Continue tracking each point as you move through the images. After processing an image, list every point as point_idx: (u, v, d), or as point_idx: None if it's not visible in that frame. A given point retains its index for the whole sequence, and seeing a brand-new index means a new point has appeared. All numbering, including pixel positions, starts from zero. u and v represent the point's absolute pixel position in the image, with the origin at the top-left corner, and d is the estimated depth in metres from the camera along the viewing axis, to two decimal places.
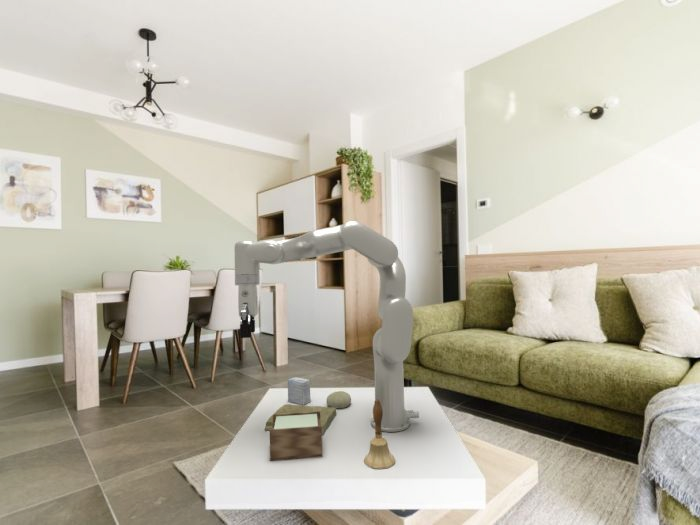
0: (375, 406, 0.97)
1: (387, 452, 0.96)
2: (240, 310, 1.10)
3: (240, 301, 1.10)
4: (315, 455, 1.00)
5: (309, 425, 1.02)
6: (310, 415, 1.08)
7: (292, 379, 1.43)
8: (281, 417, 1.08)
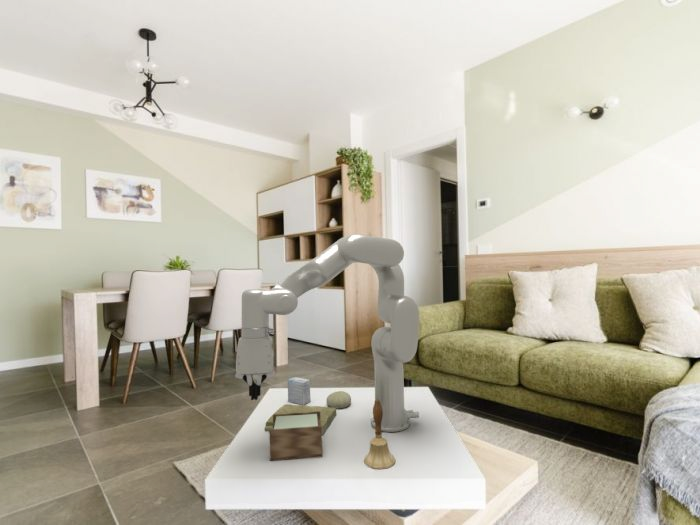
0: (375, 406, 0.97)
1: (387, 452, 0.96)
2: None
3: (272, 355, 1.03)
4: (315, 455, 1.00)
5: (309, 425, 1.02)
6: (310, 415, 1.08)
7: (292, 379, 1.43)
8: (281, 417, 1.08)
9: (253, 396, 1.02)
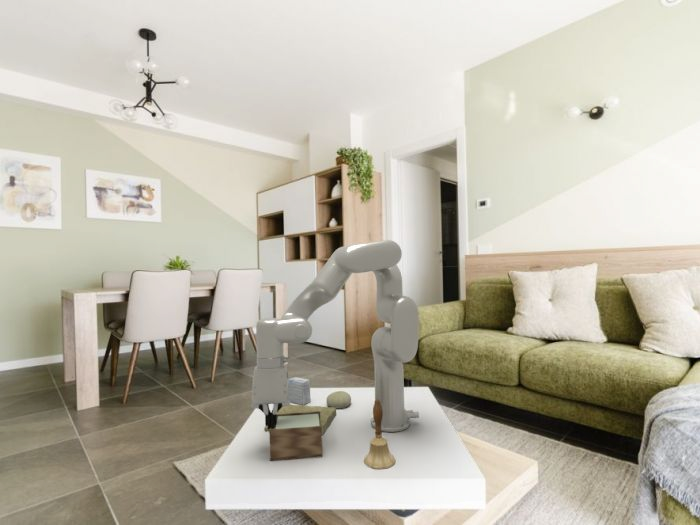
0: (375, 406, 0.97)
1: (387, 452, 0.96)
2: None
3: (287, 384, 1.03)
4: (315, 455, 1.00)
5: (311, 425, 1.02)
6: (312, 415, 1.09)
7: (292, 379, 1.43)
8: (283, 416, 1.08)
9: (269, 425, 1.02)
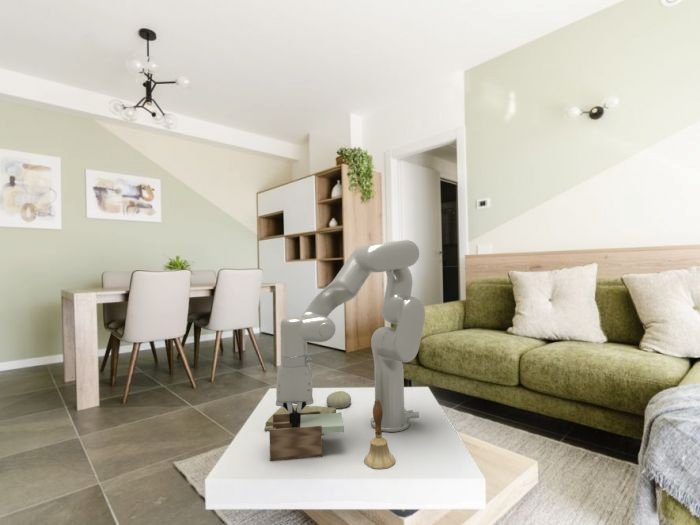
0: (375, 406, 0.97)
1: (387, 452, 0.96)
2: None
3: (311, 383, 1.04)
4: (315, 455, 1.00)
5: (335, 423, 1.02)
6: (335, 414, 1.09)
7: None
8: (306, 415, 1.09)
9: (294, 423, 1.03)
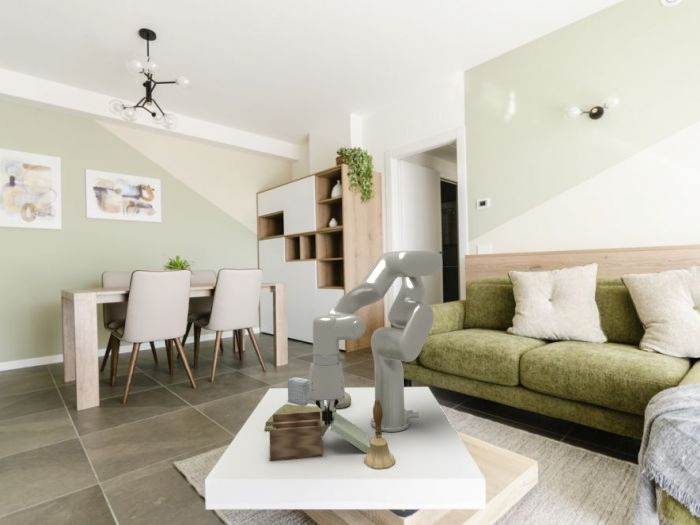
0: (375, 406, 0.97)
1: (387, 452, 0.96)
2: None
3: (343, 381, 1.05)
4: (315, 455, 1.00)
5: (363, 441, 1.02)
6: (362, 431, 1.09)
7: (292, 379, 1.43)
8: (338, 414, 1.09)
9: (327, 421, 1.04)
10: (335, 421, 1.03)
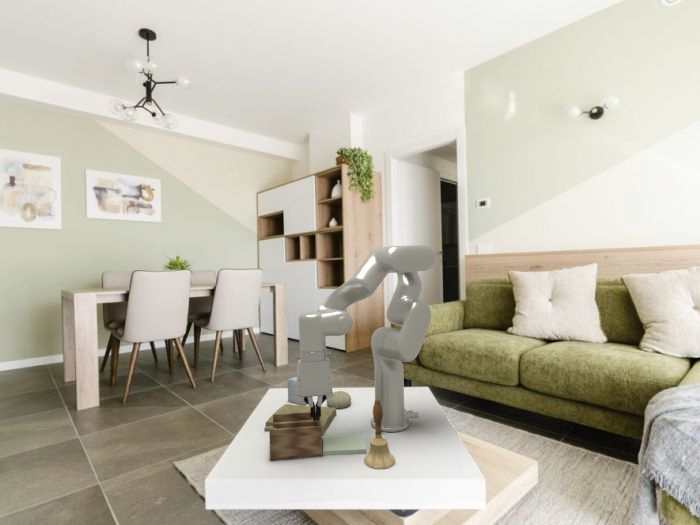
0: (375, 406, 0.97)
1: (387, 452, 0.96)
2: None
3: (331, 377, 1.05)
4: (315, 455, 1.00)
5: (357, 446, 1.02)
6: (357, 436, 1.09)
7: (292, 379, 1.43)
8: (328, 436, 1.09)
9: (315, 417, 1.04)
10: (324, 446, 1.03)
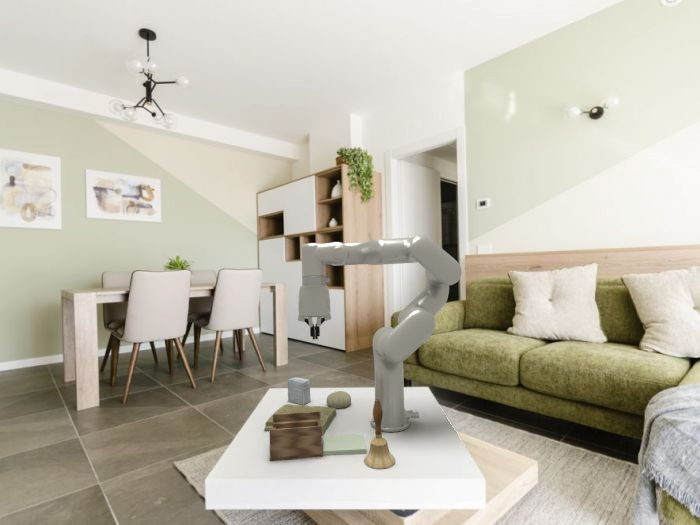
0: (375, 406, 0.97)
1: (387, 452, 0.96)
2: (325, 315, 1.17)
3: (329, 300, 1.17)
4: (315, 455, 1.00)
5: (357, 446, 1.02)
6: (357, 435, 1.09)
7: (292, 379, 1.43)
8: (328, 436, 1.09)
9: (314, 336, 1.16)
10: (324, 447, 1.03)
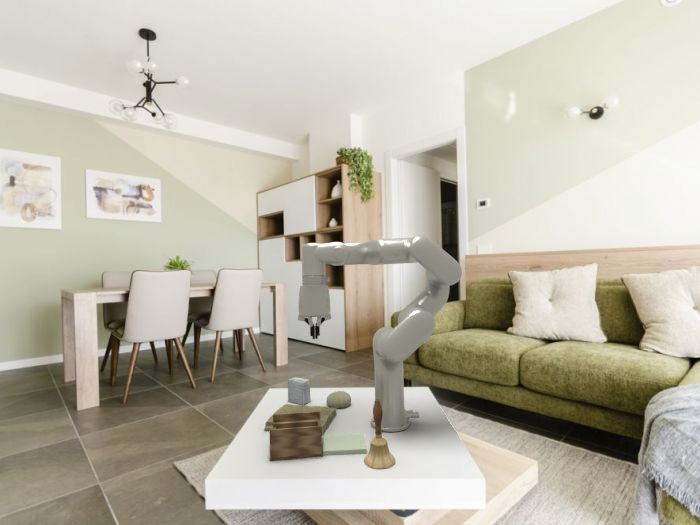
0: (375, 406, 0.97)
1: (387, 452, 0.96)
2: None
3: (329, 300, 1.17)
4: (315, 455, 1.00)
5: (357, 446, 1.02)
6: (357, 435, 1.09)
7: (292, 379, 1.43)
8: (328, 436, 1.09)
9: (314, 335, 1.16)
10: (324, 447, 1.03)
